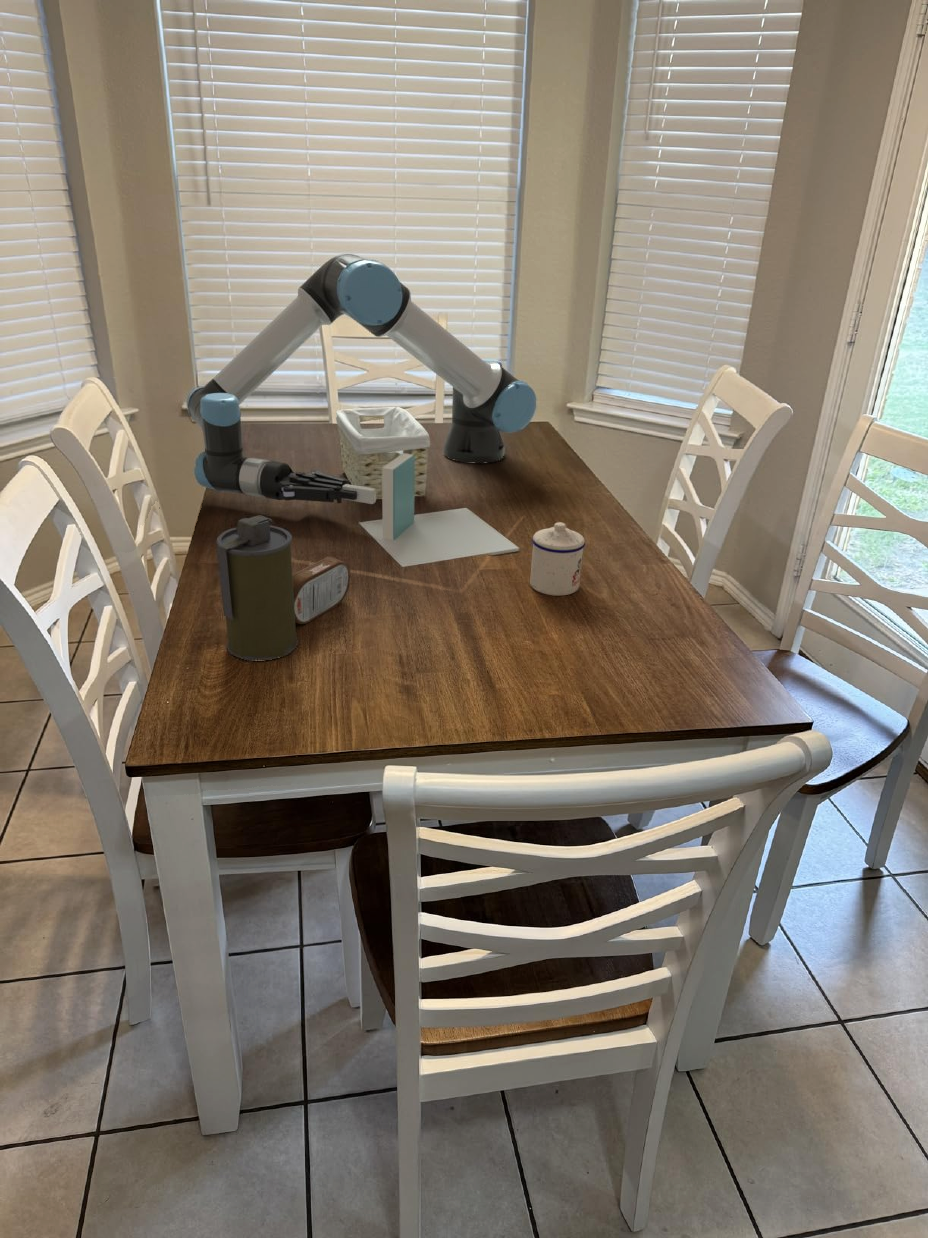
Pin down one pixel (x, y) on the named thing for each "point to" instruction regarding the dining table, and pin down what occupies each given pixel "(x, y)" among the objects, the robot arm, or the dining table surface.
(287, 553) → the canister
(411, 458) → the tile
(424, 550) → the mat
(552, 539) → the teacup with lid
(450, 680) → the dining table surface
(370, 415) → the storage basket
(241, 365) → the robot arm
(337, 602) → the tin
